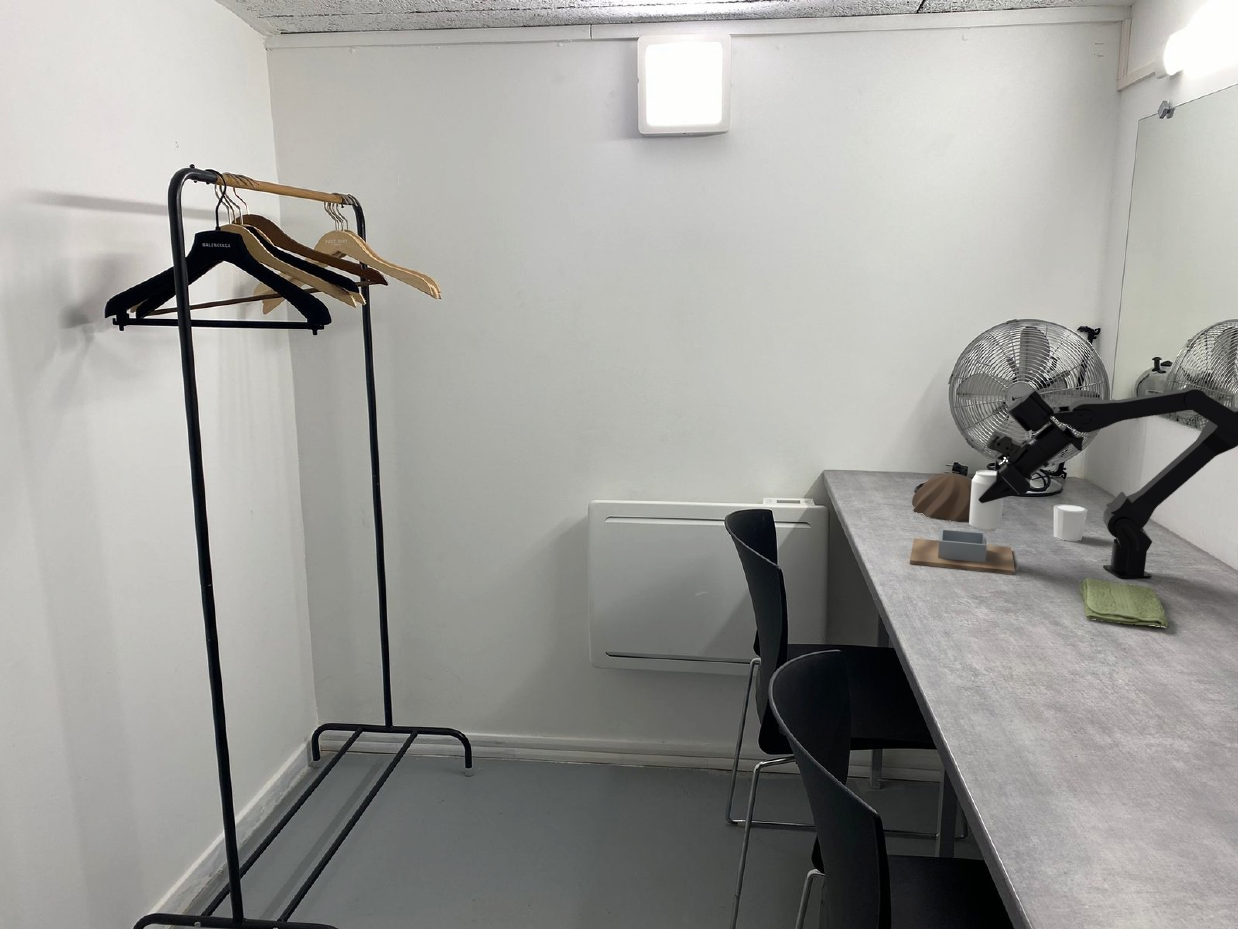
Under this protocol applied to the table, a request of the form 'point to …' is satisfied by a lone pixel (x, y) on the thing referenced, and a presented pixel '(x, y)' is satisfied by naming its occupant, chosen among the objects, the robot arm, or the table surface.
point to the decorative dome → (945, 497)
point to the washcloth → (1122, 603)
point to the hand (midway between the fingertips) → (979, 497)
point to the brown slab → (995, 560)
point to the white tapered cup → (1069, 522)
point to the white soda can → (988, 512)
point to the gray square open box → (962, 545)
